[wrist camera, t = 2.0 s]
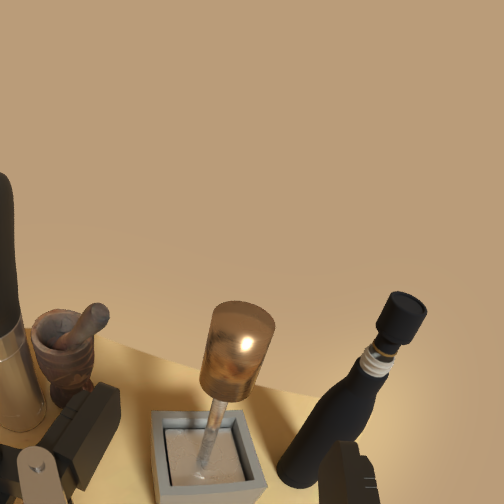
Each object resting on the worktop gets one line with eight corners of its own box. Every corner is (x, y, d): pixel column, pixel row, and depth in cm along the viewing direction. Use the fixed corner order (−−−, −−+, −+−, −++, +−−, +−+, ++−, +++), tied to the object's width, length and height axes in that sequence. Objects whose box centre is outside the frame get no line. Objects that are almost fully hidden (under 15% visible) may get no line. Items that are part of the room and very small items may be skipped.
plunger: (172, 490, 24) (194, 359, 16) (164, 432, 30) (182, 284, 22) (244, 485, 26) (316, 357, 18) (228, 431, 32) (278, 290, 24)
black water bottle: (269, 477, 36) (374, 304, 24) (286, 446, 41) (379, 275, 29) (310, 495, 34) (442, 334, 22) (324, 463, 39) (436, 300, 27)
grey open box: (159, 524, 26) (160, 495, 21) (150, 458, 34) (151, 410, 29) (240, 518, 29) (267, 486, 24) (223, 456, 38) (242, 409, 33)
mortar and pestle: (123, 384, 45) (123, 276, 36) (113, 427, 37) (103, 321, 29) (57, 368, 42) (41, 259, 34) (40, 407, 35) (9, 296, 27)
